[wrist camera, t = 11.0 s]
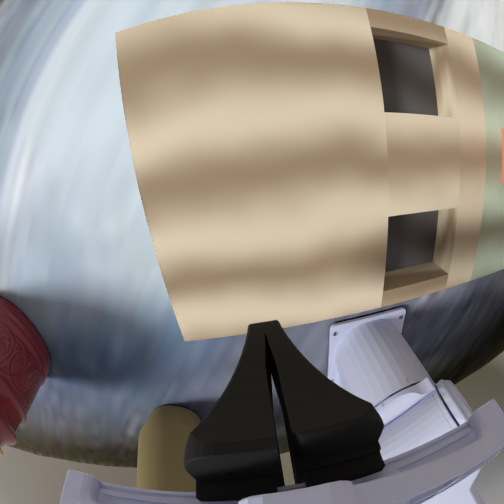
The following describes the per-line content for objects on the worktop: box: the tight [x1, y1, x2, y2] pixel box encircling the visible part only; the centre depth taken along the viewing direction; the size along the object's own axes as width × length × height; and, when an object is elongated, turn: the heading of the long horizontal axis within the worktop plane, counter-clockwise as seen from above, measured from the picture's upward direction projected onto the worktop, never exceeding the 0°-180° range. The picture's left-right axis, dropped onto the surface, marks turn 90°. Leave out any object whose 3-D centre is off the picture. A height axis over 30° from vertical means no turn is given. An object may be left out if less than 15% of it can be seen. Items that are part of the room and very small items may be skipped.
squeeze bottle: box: [137, 405, 201, 492], centre depth 21 cm, size 8×8×18 cm
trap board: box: [115, 2, 504, 341], centre depth 17 cm, size 22×37×4 cm, turn 98°
